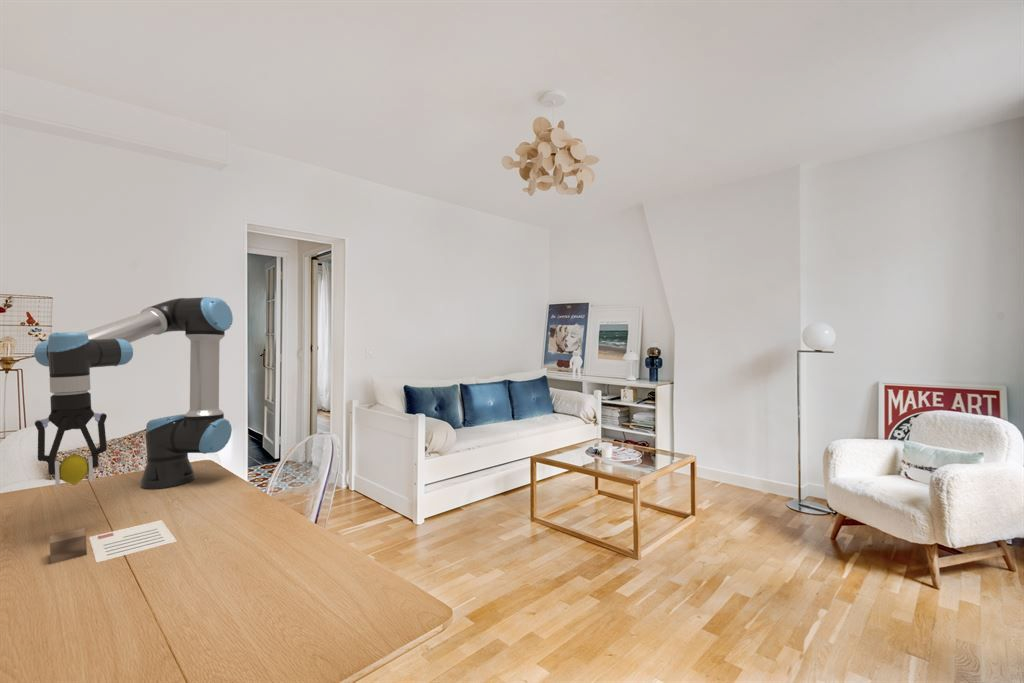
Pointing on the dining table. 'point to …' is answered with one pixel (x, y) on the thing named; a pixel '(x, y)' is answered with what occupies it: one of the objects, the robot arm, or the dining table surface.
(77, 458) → the lemon
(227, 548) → the dining table surface
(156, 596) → the dining table surface
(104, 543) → the letter
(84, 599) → the dining table surface
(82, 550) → the walnut block
